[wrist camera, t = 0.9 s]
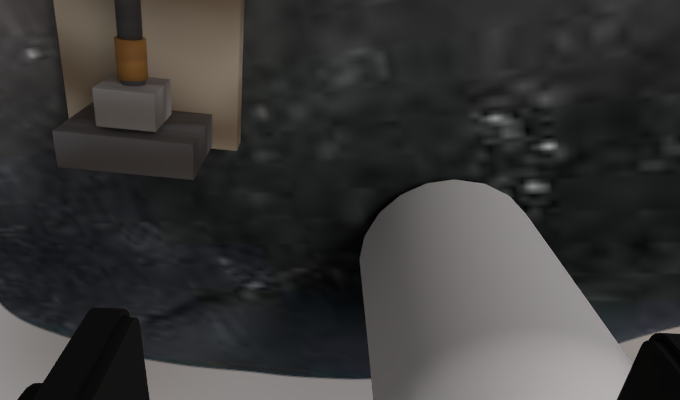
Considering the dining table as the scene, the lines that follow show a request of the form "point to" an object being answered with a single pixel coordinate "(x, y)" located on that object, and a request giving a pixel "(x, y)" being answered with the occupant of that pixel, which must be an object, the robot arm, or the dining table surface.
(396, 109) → the dining table surface
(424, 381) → the can
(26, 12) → the dining table surface
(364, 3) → the dining table surface
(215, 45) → the small bench vise
